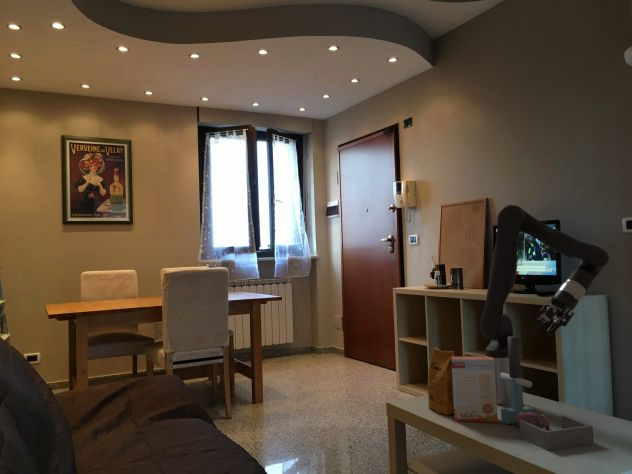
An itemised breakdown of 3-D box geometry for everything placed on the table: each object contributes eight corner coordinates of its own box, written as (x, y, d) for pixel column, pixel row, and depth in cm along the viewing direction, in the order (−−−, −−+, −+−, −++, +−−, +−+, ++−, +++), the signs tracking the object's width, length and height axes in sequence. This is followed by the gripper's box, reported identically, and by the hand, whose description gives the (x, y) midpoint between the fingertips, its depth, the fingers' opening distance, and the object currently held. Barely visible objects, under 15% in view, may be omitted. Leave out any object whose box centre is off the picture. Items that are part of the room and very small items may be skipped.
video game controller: (516, 433, 159) (514, 416, 157) (517, 423, 163) (515, 406, 161) (550, 437, 155) (548, 419, 152) (550, 426, 158) (548, 409, 156)
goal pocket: (520, 437, 151) (519, 420, 151) (564, 431, 155) (563, 414, 155) (547, 450, 140) (546, 432, 140) (593, 443, 144) (592, 426, 144)
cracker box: (496, 418, 170) (493, 356, 171) (498, 423, 164) (494, 359, 166) (454, 415, 174) (451, 355, 175) (454, 421, 168) (451, 358, 169)
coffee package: (446, 404, 188) (443, 345, 190) (467, 413, 177) (465, 350, 178) (424, 407, 185) (421, 347, 186) (444, 417, 173) (442, 353, 174)
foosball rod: (491, 416, 170) (487, 335, 172) (516, 413, 173) (512, 333, 174) (518, 429, 157) (513, 341, 158) (545, 425, 159) (540, 339, 161)
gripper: (547, 288, 178) (521, 322, 175) (575, 289, 164) (546, 327, 161) (561, 302, 179) (535, 336, 176) (590, 304, 165) (562, 342, 162)
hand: (541, 332), depth 168 cm, fingers open, 8 cm apart
